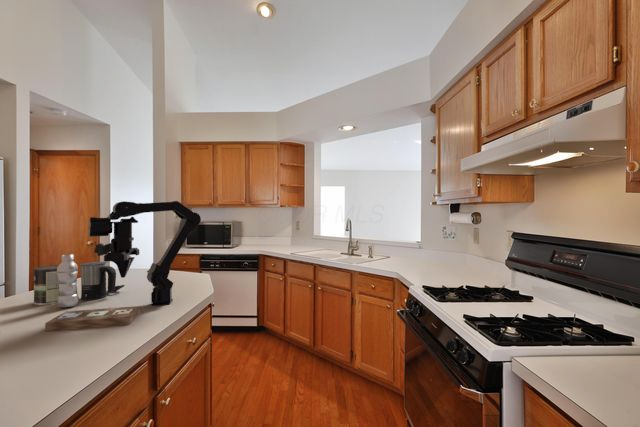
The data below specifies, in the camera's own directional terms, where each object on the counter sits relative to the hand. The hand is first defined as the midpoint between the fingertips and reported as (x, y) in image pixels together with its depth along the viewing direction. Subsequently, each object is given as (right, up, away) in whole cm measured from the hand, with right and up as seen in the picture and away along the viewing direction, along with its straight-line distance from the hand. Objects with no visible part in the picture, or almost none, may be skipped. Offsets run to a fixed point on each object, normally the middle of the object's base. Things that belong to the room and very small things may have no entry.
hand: (123, 277), depth 117 cm
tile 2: (-8, -11, -14) cm, 20 cm away
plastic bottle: (-24, -12, +4) cm, 27 cm away
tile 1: (-1, -11, -13) cm, 17 cm away
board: (-1, -12, -13) cm, 17 cm away
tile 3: (+6, -11, -11) cm, 17 cm away
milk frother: (-22, -13, +22) cm, 33 cm away
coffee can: (-37, -13, +12) cm, 41 cm away
